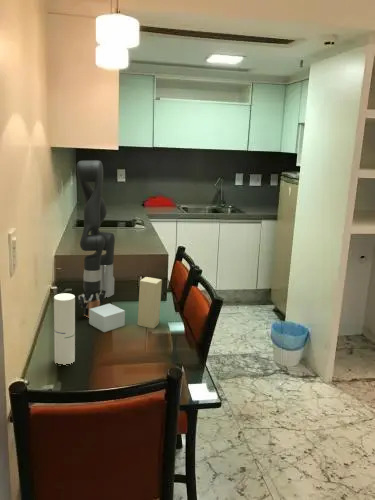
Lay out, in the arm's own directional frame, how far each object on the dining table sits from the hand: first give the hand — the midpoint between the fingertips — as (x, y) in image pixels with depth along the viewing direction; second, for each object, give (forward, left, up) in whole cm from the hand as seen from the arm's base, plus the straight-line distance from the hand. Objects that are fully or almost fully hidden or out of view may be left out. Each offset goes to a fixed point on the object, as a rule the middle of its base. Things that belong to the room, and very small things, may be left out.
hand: (91, 313), depth 203 cm
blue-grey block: (0, +11, -1) cm, 12 cm away
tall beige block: (-15, +22, -2) cm, 27 cm away
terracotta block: (0, 0, -1) cm, 1 cm away
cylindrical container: (+31, +27, -2) cm, 41 cm away
